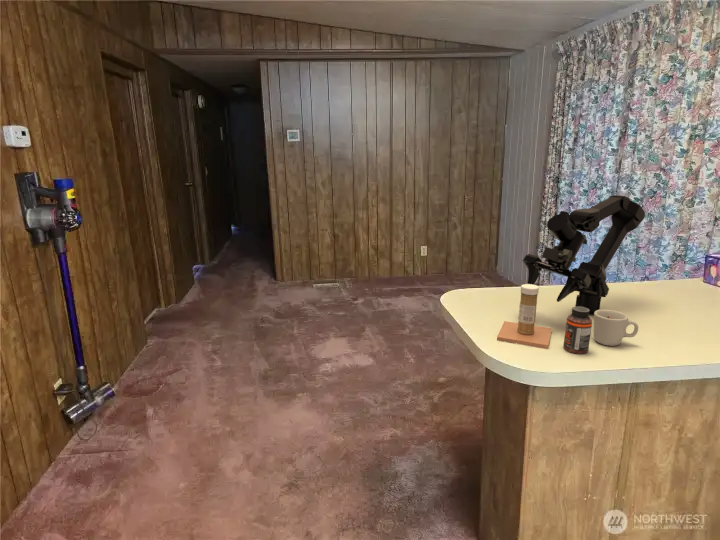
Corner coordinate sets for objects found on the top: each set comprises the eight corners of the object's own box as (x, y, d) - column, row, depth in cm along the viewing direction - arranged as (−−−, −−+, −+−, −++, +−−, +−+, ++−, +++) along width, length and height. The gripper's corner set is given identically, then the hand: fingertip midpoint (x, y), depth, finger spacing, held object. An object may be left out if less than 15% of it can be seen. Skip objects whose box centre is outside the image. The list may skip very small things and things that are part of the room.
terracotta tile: (551, 331, 135) (551, 328, 135) (548, 348, 124) (548, 345, 124) (504, 324, 140) (504, 321, 140) (496, 340, 129) (497, 336, 129)
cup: (632, 340, 130) (636, 312, 128) (638, 351, 122) (643, 322, 120) (588, 334, 133) (592, 307, 131) (592, 346, 126) (596, 317, 124)
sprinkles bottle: (535, 331, 133) (540, 285, 129) (532, 336, 129) (537, 289, 125) (518, 327, 135) (523, 282, 132) (514, 333, 131) (519, 286, 128)
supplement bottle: (558, 345, 126) (563, 304, 123) (580, 344, 127) (585, 304, 124) (570, 355, 120) (575, 312, 117) (592, 354, 121) (598, 312, 118)
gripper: (529, 228, 138) (504, 273, 136) (593, 244, 125) (566, 295, 123) (540, 245, 146) (516, 289, 144) (602, 263, 133) (576, 311, 131)
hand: (542, 295), depth 136 cm, fingers open, 9 cm apart
